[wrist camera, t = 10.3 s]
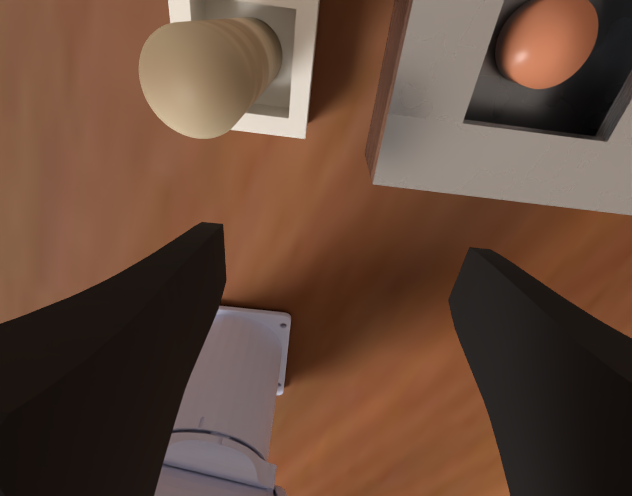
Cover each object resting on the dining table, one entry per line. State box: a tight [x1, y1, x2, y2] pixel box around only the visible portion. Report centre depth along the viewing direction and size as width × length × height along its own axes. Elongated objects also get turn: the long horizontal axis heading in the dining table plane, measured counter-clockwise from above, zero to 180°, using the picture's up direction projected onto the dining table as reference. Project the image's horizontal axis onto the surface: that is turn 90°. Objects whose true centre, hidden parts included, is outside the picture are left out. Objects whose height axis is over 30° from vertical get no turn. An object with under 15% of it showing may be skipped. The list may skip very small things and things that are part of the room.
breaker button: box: [495, 0, 598, 89], centre depth 14 cm, size 3×3×1 cm
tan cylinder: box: [139, 17, 282, 139], centre depth 13 cm, size 3×3×8 cm
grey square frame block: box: [365, 0, 632, 215], centre depth 14 cm, size 12×12×4 cm
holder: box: [168, 0, 320, 139], centre depth 15 cm, size 6×6×3 cm
